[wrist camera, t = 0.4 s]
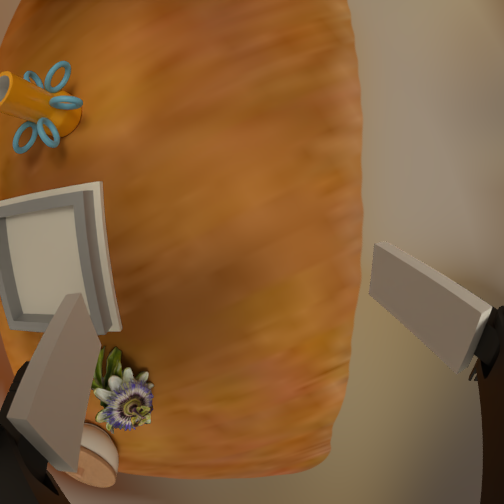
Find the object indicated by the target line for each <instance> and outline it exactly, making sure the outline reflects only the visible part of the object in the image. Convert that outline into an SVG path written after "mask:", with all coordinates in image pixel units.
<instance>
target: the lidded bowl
mask: <svg viewBox="0 0 504 504" xmlns="http://www.w3.org/2000/svg"><path fill="white" fill-rule="evenodd" d="M118 464H119V460H118V452H117V449H116V447H115V445H114V443H113V442H112V440H111V438H110V436H109V435H108V434H107V433H106V432H105V431H104V430H103V429H101V428H100V427H98V426H96V425H93V424H90V423H84V426H83V433H82V439H81V446H80V453H79V461H78V470H77V473H76V472H66V471H64V472H66V473H67V474H68V475H70V476H72V477H73V478H75V479H77V480H79V481H81V482H83V483H85V484H89V485H91V486H96V487H109V486H112V485H113V484H114V483H115V481H116V474H117V471H118Z"/></svg>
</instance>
